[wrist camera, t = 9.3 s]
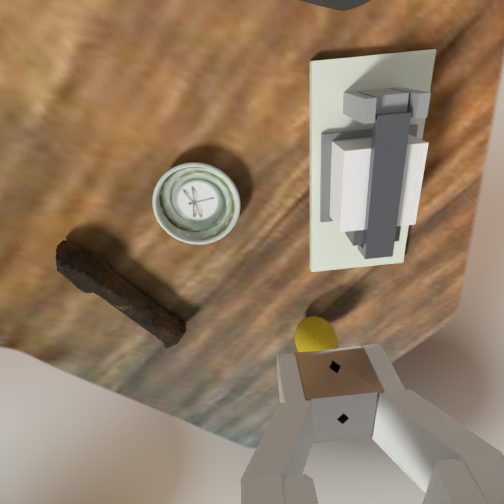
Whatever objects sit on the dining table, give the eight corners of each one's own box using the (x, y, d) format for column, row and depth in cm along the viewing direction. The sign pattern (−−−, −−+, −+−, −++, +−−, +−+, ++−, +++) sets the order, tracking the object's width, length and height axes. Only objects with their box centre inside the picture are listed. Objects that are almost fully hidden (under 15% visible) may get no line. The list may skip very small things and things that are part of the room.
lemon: (294, 338, 52) (305, 381, 45) (287, 310, 49) (297, 352, 42) (331, 329, 51) (347, 372, 44) (325, 300, 49) (342, 341, 42)
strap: (367, 112, 32) (377, 115, 30) (399, 109, 32) (411, 112, 30) (357, 248, 39) (365, 259, 37) (383, 245, 39) (392, 256, 37)
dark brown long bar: (189, 319, 49) (186, 342, 45) (169, 333, 50) (164, 357, 46) (80, 225, 41) (64, 243, 37) (58, 244, 42) (40, 264, 38)
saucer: (253, 215, 42) (254, 224, 40) (183, 247, 43) (181, 257, 41) (215, 141, 37) (214, 146, 35) (139, 180, 39) (134, 187, 37)
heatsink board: (309, 61, 34) (328, 62, 28) (431, 49, 34) (476, 47, 28) (309, 267, 46) (322, 301, 39) (399, 258, 46) (426, 290, 40)
